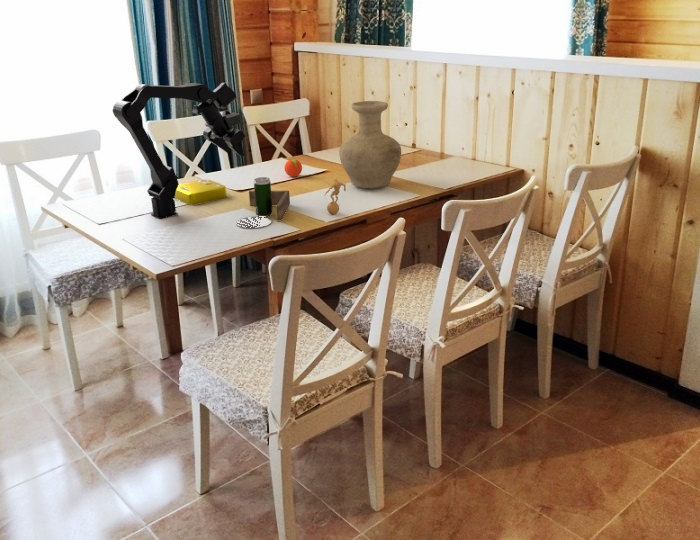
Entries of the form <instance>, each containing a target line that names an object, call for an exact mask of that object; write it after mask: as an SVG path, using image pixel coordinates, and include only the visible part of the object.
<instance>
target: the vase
mask: <svg viewBox="0 0 700 540" xmlns="http://www.w3.org/2000/svg"><path fill="white" fill-rule="evenodd" d="M388 108H389V104H388V102H385V101H380V100H379V101H378V100H363V101H357V102H353V103H351V109H352V110H353V111H354V112H356V113H357V115H358V131H357V133H356V134H354V135H353V136H350V137H348V138H347V139H346V140H344V141H343V142H342V144H341V145H340V146H339V155H338V156H339V160H340V163H341V166H342V168H343V170H344V171H345V173H346V175H347V176H348V179H349V180H350V183H351V185H352V186H354V187H356V188H362V189H379V188H384V187H387V186H388V185H390V183H391V181H392V177H393V176H394V174H395V172H396V170H397V169H398V167H399V165H400V162H401V158H402V148H401V145H400V143H399V142H398V140H397V139H395V138H393V137H391V136H389V135H387V134H385V133H384V132H383V130H382V113H383V112H385V111H386V110H387V109H388Z"/></svg>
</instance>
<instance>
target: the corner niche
mask: <svg viewBox="0 0 700 540" xmlns="http://www.w3.org/2000/svg"><path fill="white" fill-rule="evenodd" d="M248 196H249V197H248V199H249V206H250V207H251V206H252V207H253V206H255V192H254V190H249V191H248ZM271 197H272V205H277V206H275V209H276V211H275V212H276V221H277V220H281V219H282V220H283V218H284V217H283V216H285V215H286V213H287V211H288V209H289V208H290V206H291V200H290V199H291V198H290V190H271ZM289 205H290V206H289ZM255 207H256V206H255ZM288 207H289V208H288ZM286 210H287V211H286ZM285 212H286V213H285ZM284 214H285V215H284ZM282 220H281V221H282Z"/></svg>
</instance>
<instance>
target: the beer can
mask: <svg viewBox="0 0 700 540" xmlns="http://www.w3.org/2000/svg"><path fill="white" fill-rule="evenodd" d="M271 185H272V184H271V180H270V177H267V176H266V177H265V176H262V177H256V178H254V181H253V191H254V192H255V214H256V216H257V215H258V216H269V217H271V216H272V215H271V214H273V206H272V197H271V191H272V186H271ZM270 215H271V216H270Z"/></svg>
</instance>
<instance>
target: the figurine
mask: <svg viewBox="0 0 700 540" xmlns="http://www.w3.org/2000/svg"><path fill="white" fill-rule="evenodd" d="M342 186H343V188H344V189H343V191H344V192H346V191H347V189H346V184H344V183H343V182H340V181H339V180H337V179H336V178H334V180H333V185H331V186H330V187H329V188H328V190H326V192H325V194H324V196H326V195H327V194H328V193H329V191H331V190H332V189H334V190H332V192H331V194H330V195H329V196H330V198H331V200H332V201H331V202H329V203H328V204H327V206H326V210H327V212H328V214H330V215H336V214H337V213H338V212H339V211H340V205H339V204H338V202H337V201H338V198H339V197H338V195H339V194H340V192H341V191H340V189H341V187H342ZM334 196H335V198H334Z"/></svg>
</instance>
